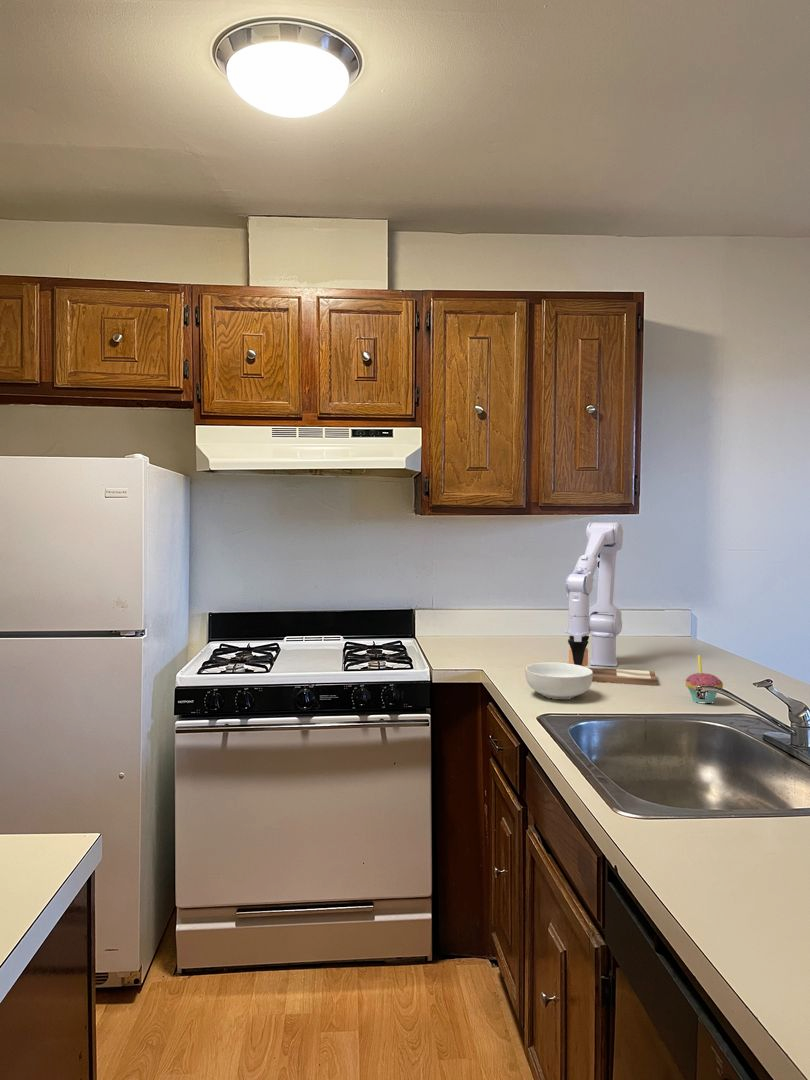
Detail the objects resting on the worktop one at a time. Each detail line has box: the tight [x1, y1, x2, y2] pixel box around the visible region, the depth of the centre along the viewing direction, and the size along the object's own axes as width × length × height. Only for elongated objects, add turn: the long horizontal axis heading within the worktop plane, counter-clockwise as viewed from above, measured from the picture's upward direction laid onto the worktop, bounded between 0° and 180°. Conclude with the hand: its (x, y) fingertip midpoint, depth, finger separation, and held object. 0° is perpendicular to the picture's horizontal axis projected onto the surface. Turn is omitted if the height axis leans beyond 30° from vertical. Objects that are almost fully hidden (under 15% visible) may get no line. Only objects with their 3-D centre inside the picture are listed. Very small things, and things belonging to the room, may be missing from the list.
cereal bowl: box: [525, 661, 593, 700], centre depth 183 cm, size 17×17×7 cm
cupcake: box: [685, 652, 724, 704], centre depth 178 cm, size 9×8×12 cm
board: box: [588, 667, 658, 687], centre depth 203 cm, size 11×28×8 cm, turn 74°
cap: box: [568, 646, 589, 667], centre depth 205 cm, size 5×5×5 cm
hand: (578, 662), depth 205 cm, fingers closed on cap, 5 cm apart
